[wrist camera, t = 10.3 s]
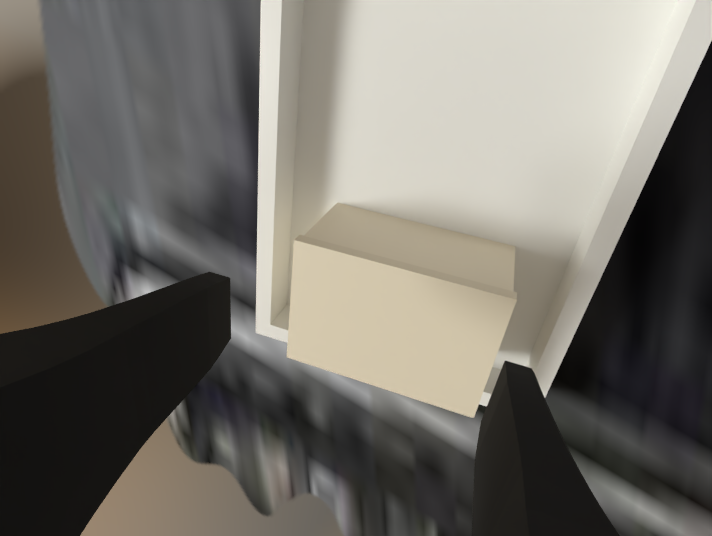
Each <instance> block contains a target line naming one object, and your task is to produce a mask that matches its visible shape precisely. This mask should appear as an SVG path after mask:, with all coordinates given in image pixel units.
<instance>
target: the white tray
mask: <svg viewBox="0 0 712 536" xmlns="http://www.w3.org/2000/svg"><path fill="white" fill-rule="evenodd" d="M711 41H712V0H261V29H260V92H259V156H258V220H257V283H256V333H258V334H261V335H264V336H268V337H271V338H274V339H277V340H280V341H283V342H286V343H288V329H289V312H290V296H291V280H292V264H293V247H294V239H295V238H297V237H298V236H299V235H303V236H304V235H305V234H306V233H307V232H308V231H309V230H310V229H311V228H312V227H313V226H314V225H315V224H316V223H317V222H318V221H319V220H320V219H321V218H322V217H323V216H324V215H325V214H326V213H327V212H328V211H329V210H330V209H331V208H332V207H333V206H334V205H335V204H336V203H341V204H345V205H349V206H353V207H357V208H361V209H365V210H369V211H373V212H377V213H382V214H386V215H390V216H394V217H398V218H402V219H406V220H410V221H414V222H418V223H422V224H426V225H431V226H435V227H439V228H443V229H447V230H451V231H455V232H459V233H463V234H467V235H471V236H475V237H479V238H484V239H488V240H492V241H496V242H500V243H504V244H508V245H512V246H515V268H514V292H517V301H516V304H515V307H514V309H513V312H512V315H511V318H510V320H509V323H508V326H507V329H506V331H505V334H504V337H503V339H502V342H501V345H500V348H499V350H498V353H497V356H496V358H495V361H494V364H493V367H492V369H491V372H490V375H489V378H488V380H487V383H486V386H485V388H484V391H483V394H482V397H481V399H480V402H479V404H480V405H484V406H487V405H488V402H489V400H490V397H491V395H492V392H493V390H494V387H495V384H496V382H497V379H498V377H499V374H500V372H501V369H502V366H503V364H504V361H505V360H506V361H509V362H512V363H516V364H519V365H522V366H526V367H529V368H532V370H533V371H534V373H535V375H536V378H537V381H538V383H539V386H540V388H541V391H542V393H543V395H544V398H545V396H546V394H547V392H548V390H549V388H550V386H551V384H552V381H553V379H554V377H555V375H556V373H557V371H558V369H559V366H560V364H561V362H562V360H563V358H564V356H565V354H566V351H567V349H568V347H569V345H570V343H571V341H572V339H573V336H574V334H575V332H576V330H577V328H578V326H579V324H580V321H581V319H582V317H583V315H584V313H585V311H586V309H587V307H588V304H589V302H590V300H591V298H592V296H593V294H594V292H595V289H596V287H597V285H598V283H599V281H600V279H601V277H602V274H603V272H604V270H605V268H606V266H607V264H608V262H609V259H610V257H611V255H612V253H613V251H614V249H615V247H616V244H617V242H618V240H619V238H620V236H621V234H622V232H623V229H624V227H625V225H626V223H627V221H628V219H629V217H630V214H631V212H632V210H633V208H634V206H635V204H636V202H637V199H638V197H639V195H640V193H641V191H642V189H643V187H644V184H645V182H646V180H647V178H648V176H649V174H650V172H651V169H652V167H653V165H654V163H655V161H656V159H657V157H658V154H659V152H660V150H661V148H662V146H663V144H664V142H665V139H666V137H667V135H668V133H669V131H670V129H671V127H672V124H673V122H674V120H675V118H676V116H677V114H678V112H679V109H680V107H681V105H682V103H683V101H684V99H685V97H686V94H687V92H688V90H689V88H690V86H691V84H692V82H693V79H694V77H695V75H696V73H697V71H698V69H699V67H700V64H701V62H702V60H703V58H704V56H705V54H706V52H707V49H708V47H709V45H710V43H711Z"/></svg>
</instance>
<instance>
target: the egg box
mask: <svg viewBox="0 0 712 536" xmlns="http://www.w3.org/2000/svg"><path fill="white" fill-rule="evenodd" d="M514 268H515V246H512V245H508V244H504V243H500V242H496V241H492V240H488V239H484V238H479V237H475V236H471V235H467V234H463V233H459V232H455V231H451V230H447V229H443V228H439V227H435V226H431V225H426V224H422V223H418V222H414V221H410V220H406V219H402V218H398V217H394V216H390V215H386V214H382V213H377V212H373V211H369V210H365V209H361V208H357V207H353V206H349V205H345V204H341V203H336V204H335V205H334V206H333V207H332V208H331V209H330V210H329V211H328V212H327V213H326V214H325V215H324V216H323V217H322V218H321V219H320V220H319V221H318V222H317V223H316V224H315V225H314V226H313V227H312V228H311V229H310V230H309V231H308V232H307V233H306V234H305V235H304V236H303V235H299V236H298V237H297V238H295V239H294V247H293V264H292V280H291V296H290V312H289V329H288V345H287V357H288V358H291V359H294V360H297V361H300V362H303V363H306V364H309V365H312V366H315V367H318V368H322V369H325V370H328V371H331V372H334V373H337V374H340V375H343V376H346V377H349V378H352V379H355V380H358V381H361V382H364V383H367V384H371V385H374V386H377V387H380V388H383V389H386V390H389V391H392V392H395V393H398V394H401V395H404V396H407V397H410V398H413V399H416V400H419V401H423V402H426V403H429V404H432V405H435V406H438V407H441V408H444V409H447V410H450V411H453V412H456V413H459V414H462V415H465V416H468V417H472V418H474V416H475V413H476V410H477V407H478V405H479V402H480V399H481V397H482V394H483V391H484V388H485V386H486V383H487V380H488V378H489V375H490V372H491V369H492V367H493V364H494V361H495V358H496V356H497V353H498V350H499V348H500V345H501V342H502V339H503V337H504V334H505V331H506V329H507V326H508V323H509V320H510V318H511V315H512V312H513V309H514V307H515V304H516V301H517V292H514Z"/></svg>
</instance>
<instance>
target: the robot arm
mask: <svg viewBox="0 0 712 536" xmlns="http://www.w3.org/2000/svg"><path fill="white" fill-rule="evenodd" d="M230 339H231V313H230V278H229V277H225V276H222V275H219V274H215V273H212V272H208V273H204V274H201V275H198V276H195V277H192V278H189V279H186V280H183V281H181V282H178V283H175V284H173V285H170V286H167V287H164V288H162V289H159V290H156V291H153V292H151V293H148V294H145V295H142V296H140V297H137V298H134V299H131V300H128V301H125V302H122V303H119V304H116V305H113V306H110V307H107V308H104V309H101V310H98V311H95V312H91V313H88V314H85V315H81V316H78V317H74V318H70V319H67V320H63V321H59V322H55V323H51V324H47V325H43V326H38V327H34V328H29V329H24V330H19V331H13V332H8V333H3V334H0V536H80V535H81V533H82V532H83V530H84V529H85V527H86V525H87V524H88V522H89V521H90V519H91V518H92V516H93V515H94V513H95V512H96V510H97V509H98V507H99V506H100V504H101V503H102V502H103V500H104V499H105V497H106V496H107V494H108V493H109V491H110V490H111V489H112V487H113V486H114V484H115V483H116V481H117V480H118V479H119V477H120V476H121V474H122V473H123V472H124V470H125V469H126V468H127V466H128V465H129V463H130V462H131V461H132V459H133V458H134V457H135V455H136V454H137V452H138V451H139V450H140V448H141V447H142V446H143V445H144V443H145V442H146V441H147V440H148V438H149V437H150V436H151V435H152V434H153V433H154V431H155V430H156V429H157V428H158V427H159V426H160V425H161V423H162V422H163V421H164V420H165V419H166V418H167V417H168V416H169V415H170V414H171V413H172V411H173V410H174V409H175V408H176V407H177V406H178V405H179V404H180V403H181V401H182V400H183V399H184V398H185V397H186V396H187V395H188V394H189V392H190V391H191V390H192V389H193V388H194V387H195V386H196V385H197V383H198V382H199V381H200V380H201V379H202V378H203V377H204V376H205V374H206V373H207V372H208V371H209V370H210V369H211V367H212V366H213V364H214V363H215V361H216V360H217V359H218V357H219V356H220V354H221V353H222V351H223V350H224V348H225V346H226V345H227V343H228V342H229V340H230ZM472 536H619V534H618V533H617V531H616V530H615V528H614V527H613V525H612V524H611V522H610V521H609V519H608V518H607V516H606V515H605V513H604V511H603V510H602V508H601V507H600V505H599V503H598V502H597V500H596V498H595V497H594V495H593V493H592V492H591V490H590V488H589V486H588V485H587V483H586V481H585V479H584V478H583V476H582V474H581V472H580V470H579V469H578V467H577V465H576V463H575V461H574V459H573V457H572V455H571V453H570V452H569V450H568V447H567V445H566V443H565V441H564V439H563V437H562V435H561V433H560V431H559V429H558V427H557V425H556V423H555V421H554V418H553V416H552V414H551V412H550V409H549V407H548V405H547V403H546V400H545V398H544V395H543V393H542V391H541V388H540V386H539V383H538V381H537V378H536V375H535V373H534V371H533V370H532V368H529V367H526V366H522V365H519V364H516V363H512V362H509V361H506V360H505V361H504V364H503V366H502V369H501V372H500V374H499V377H498V379H497V382H496V384H495V387H494V390H493V392H492V395H491V397H490V400H489V402H488V405H487V408H486V410H485V413H484V415H483V418H482V420H481V426H480V432H479V438H478V444H477V450H476V457H475V469H474V491H473V515H472Z"/></svg>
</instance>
